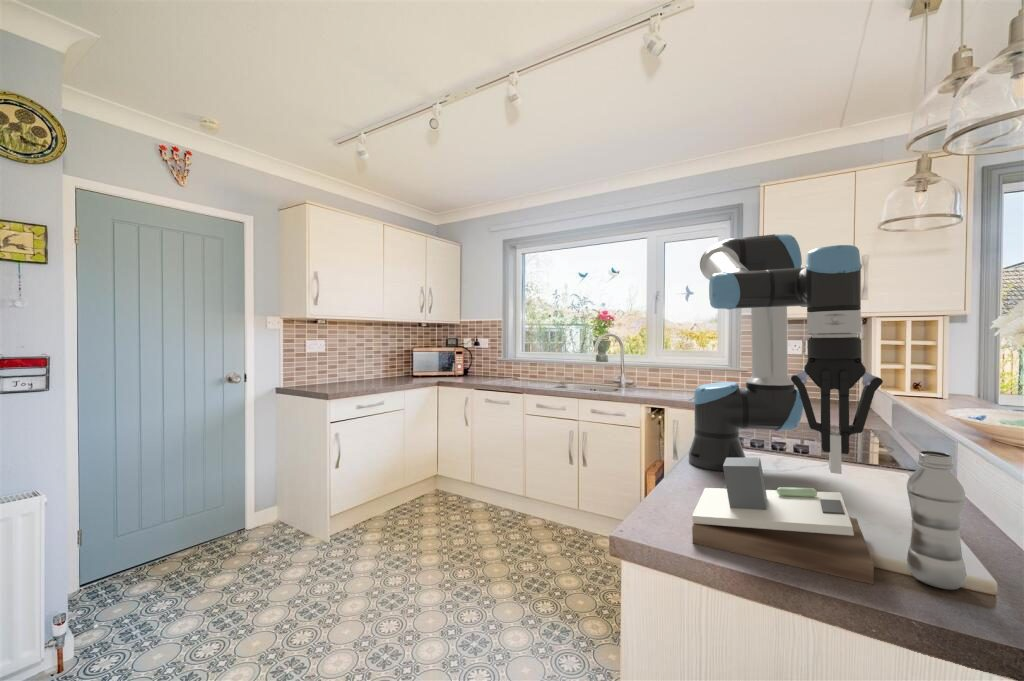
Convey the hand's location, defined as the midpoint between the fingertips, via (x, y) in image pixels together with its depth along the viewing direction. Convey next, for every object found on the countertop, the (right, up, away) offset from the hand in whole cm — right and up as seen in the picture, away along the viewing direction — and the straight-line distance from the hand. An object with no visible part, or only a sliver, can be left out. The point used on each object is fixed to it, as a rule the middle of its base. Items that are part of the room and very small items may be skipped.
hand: (835, 471), depth 75 cm
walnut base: (-7, -15, +6) cm, 17 cm away
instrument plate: (-8, -10, +6) cm, 14 cm away
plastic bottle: (+9, -15, -9) cm, 19 cm away
